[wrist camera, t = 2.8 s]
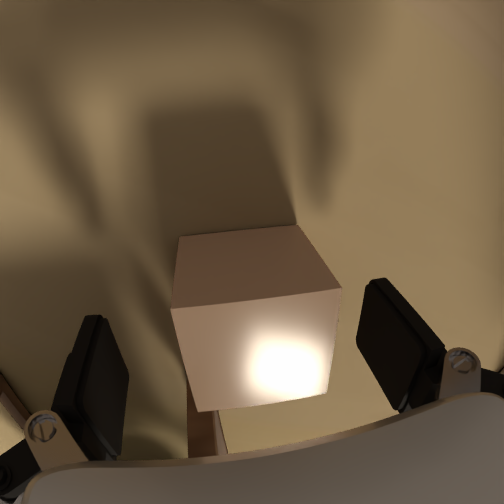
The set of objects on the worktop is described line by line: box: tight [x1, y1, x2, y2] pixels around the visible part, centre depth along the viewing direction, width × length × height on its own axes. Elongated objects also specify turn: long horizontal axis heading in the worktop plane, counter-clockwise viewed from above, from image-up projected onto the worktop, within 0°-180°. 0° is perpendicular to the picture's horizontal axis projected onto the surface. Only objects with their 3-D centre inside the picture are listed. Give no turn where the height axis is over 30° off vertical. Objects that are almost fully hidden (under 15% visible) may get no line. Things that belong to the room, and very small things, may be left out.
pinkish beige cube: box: [170, 225, 342, 412], centre depth 12 cm, size 5×5×5 cm
